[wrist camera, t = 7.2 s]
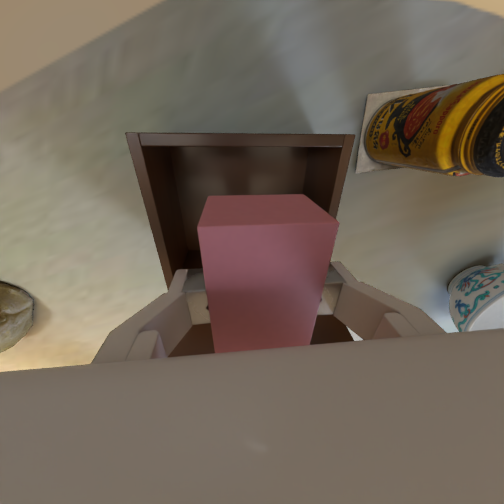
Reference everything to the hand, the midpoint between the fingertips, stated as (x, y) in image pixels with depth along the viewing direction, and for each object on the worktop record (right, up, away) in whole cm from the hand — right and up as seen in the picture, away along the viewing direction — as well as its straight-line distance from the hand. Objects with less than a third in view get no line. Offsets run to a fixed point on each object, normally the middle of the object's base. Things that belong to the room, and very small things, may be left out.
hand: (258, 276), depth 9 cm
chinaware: (+37, -4, +25) cm, 45 cm away
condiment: (+15, +14, +12) cm, 24 cm away
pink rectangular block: (0, +1, +2) cm, 2 cm away
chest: (-2, +7, +14) cm, 16 cm away
